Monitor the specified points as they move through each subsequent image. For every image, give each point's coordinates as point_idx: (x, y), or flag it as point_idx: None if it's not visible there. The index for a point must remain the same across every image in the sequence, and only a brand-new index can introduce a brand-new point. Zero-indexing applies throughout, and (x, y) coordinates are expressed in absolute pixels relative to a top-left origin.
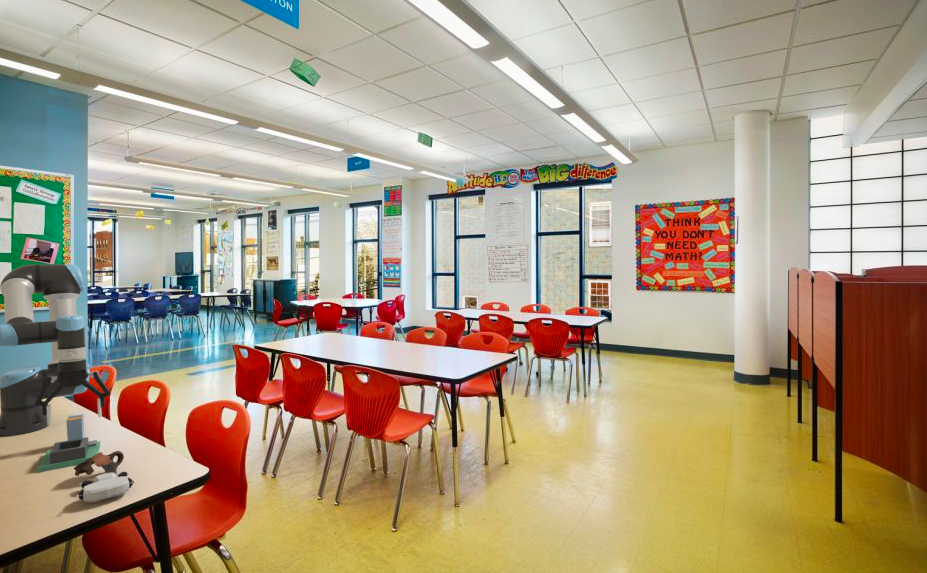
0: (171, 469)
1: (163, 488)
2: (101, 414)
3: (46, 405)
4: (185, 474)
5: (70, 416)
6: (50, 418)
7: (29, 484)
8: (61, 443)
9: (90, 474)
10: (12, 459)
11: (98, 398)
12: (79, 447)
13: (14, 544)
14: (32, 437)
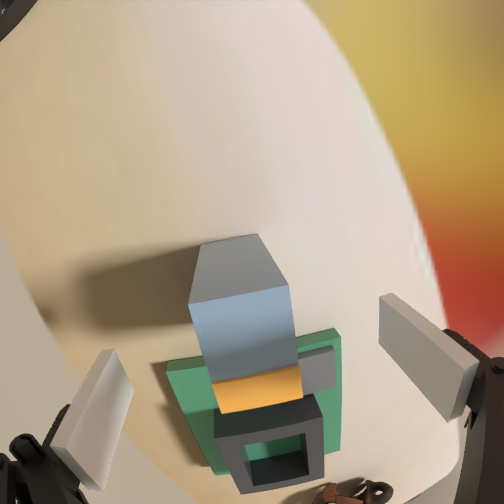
0: (433, 465)
1: (407, 499)
2: (394, 294)
3: (77, 484)
4: (438, 474)
5: (206, 322)
6: (119, 407)
7: (227, 497)
8: (240, 444)
9: (329, 484)
10: (71, 350)
11: (460, 398)
12: (310, 479)
13: None
14: (23, 87)
